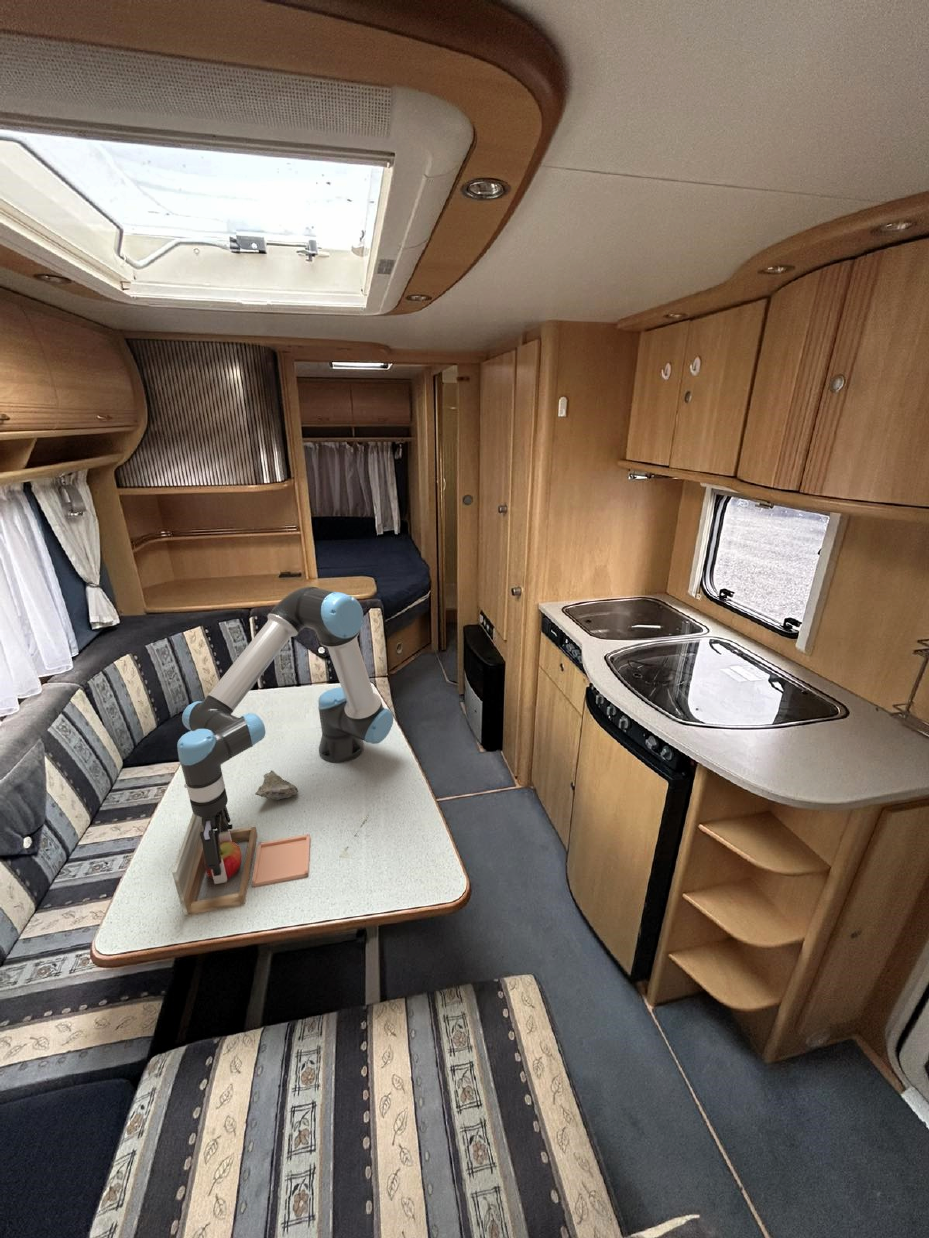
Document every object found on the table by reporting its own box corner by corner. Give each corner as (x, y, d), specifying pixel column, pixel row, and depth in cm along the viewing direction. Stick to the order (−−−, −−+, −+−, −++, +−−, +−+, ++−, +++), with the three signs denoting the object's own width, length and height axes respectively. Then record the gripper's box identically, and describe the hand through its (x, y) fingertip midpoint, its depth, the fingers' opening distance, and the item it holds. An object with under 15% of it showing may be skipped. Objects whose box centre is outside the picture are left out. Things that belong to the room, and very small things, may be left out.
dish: (310, 839, 136) (309, 833, 136) (308, 878, 125) (307, 872, 124) (259, 848, 134) (258, 843, 133) (252, 889, 122) (251, 883, 121)
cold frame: (258, 833, 138) (250, 791, 133) (245, 906, 117) (235, 861, 112) (207, 841, 136) (196, 800, 130) (184, 918, 115) (171, 872, 109)
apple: (207, 892, 121) (199, 861, 117) (208, 866, 128) (201, 835, 124) (244, 881, 124) (237, 850, 120) (243, 855, 131) (237, 825, 128)
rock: (254, 791, 144) (263, 769, 153) (254, 808, 146) (262, 785, 155) (295, 794, 146) (302, 771, 155) (294, 810, 148) (300, 787, 157)
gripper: (200, 767, 126) (216, 837, 134) (177, 829, 107) (198, 906, 115) (232, 762, 127) (247, 832, 136) (215, 822, 108) (233, 899, 116)
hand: (224, 866), depth 125 cm, fingers closed on apple, 8 cm apart
